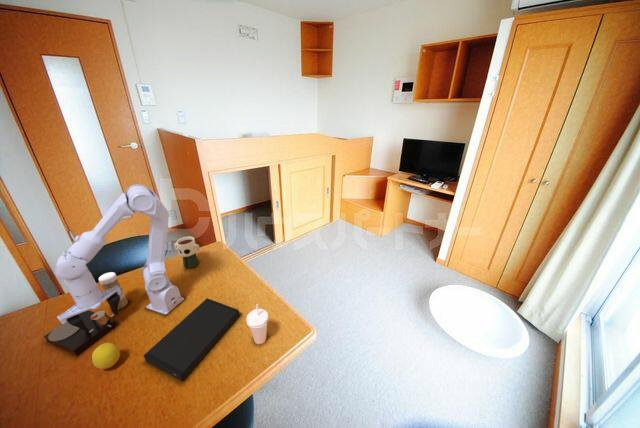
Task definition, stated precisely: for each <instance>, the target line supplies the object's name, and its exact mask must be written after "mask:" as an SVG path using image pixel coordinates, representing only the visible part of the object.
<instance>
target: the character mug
mask: <svg viewBox="0 0 640 428" xmlns="http://www.w3.org/2000/svg"><path fill="white" fill-rule="evenodd" d="M173 246H174V249H175V251H177V252H178V255H179V256H180V257H182V265H183V268H185V269H187V267H188V269H193V268H195V267H197V266H198V265H199V263H200V260H199V258H198V255H197V254H196V253H197V252H199V251H200V250H201V249H200V245H199V244H196V240H195V238H194V237H193V236H184V237H180V238H179V239H177V240H176V242H175V243H174V245H173Z"/></svg>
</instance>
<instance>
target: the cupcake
mask: <svg viewBox="0 0 640 428" xmlns="http://www.w3.org/2000/svg"><path fill="white" fill-rule="evenodd" d="M109 319H110V318H109V316H108V314H107V312H106V310H99V311H96V312H94V314H93V315H92V316H91V320H92V322H93V324H94V326H95V327H96V328H100V327H103V326H105V325H106V324H107V323H108V322H109Z"/></svg>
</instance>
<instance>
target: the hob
mask: <svg viewBox="0 0 640 428" xmlns="http://www.w3.org/2000/svg"><path fill="white" fill-rule="evenodd" d="M94 313H95V312H94V311H92V310H87V311H85V312H82V313H80V314H78V315H79V316H80V318H81V319H82V320H83V322H84V324H85V326H86V327H87V328H88V330H89V333H86V332H84V330H82V329H81V328H80V330H79V331H77V332H76V333H75V334H73V335H72V336H70V337H68V338H66V339H64V340H61V341H56V342H52V341H50V340H49V339H48V336H49V334H50V333H51V332H52V331H53V330H54V329H52V330H51V331H50V332H48V333H46V334H44V335H43V338H44V339H45V340H46V342H47V343H49V344H51V345H53V346H55V347H58V348H59V349H61V350H64V351H65V352H68V353H70V354H72V355H73V356H76V357H78V356H80V355H81V354H82V353H83V352H85V351H86V350H88V349H89V348H90V347H91V346H92V345H94V344H95V343H97V342H98V341H99V340H101V339H102V338H103V337H105V336H106V335H107V334H108V333H110V332H111V331H112V330H114V329H115V328H116V327H117V326H118V325H117V323H116V321H115V320H114V319H112V317H114V316H116V315H115V314H113V313H112V314H111V315H110V316H109V317H110V318H109V322H108V323H107V324H106V325H105V326H103V327H100V328H96V327H95V326H94V324H93V322H92V320H91V316H92V315H93V314H94Z"/></svg>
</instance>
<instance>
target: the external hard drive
mask: <svg viewBox="0 0 640 428" xmlns="http://www.w3.org/2000/svg"><path fill="white" fill-rule="evenodd" d="M238 318H240V310H239V309H237V308H235V307H233V306H229V305H226V304H224V303H221V302H218V301H216V300H213V299H210V298H206V299H204V300H203V301H202V302H201V303H199V305H198V306H196V307H195V308H194V309H193V310H192V311H191V312H189V314H187V316H185V317H184V318H183V319H182V320H181V321H180V322H179V323H177V324H176V325H175V326H174V327H173V328H172V329H171V330H170V331H168V332H167V334H165V335H164V336H163V337H162V338H161V339H160V340H159V341H158V342H157V343H156V344H154V345H153V346H152V347H151V348H150V349H149V350H148V351H147V352H145V353H144V354H143V358H144V360H145V362H146V363H148V364H150V365H151V366H153V367H155V368H157V369H158V370H161V371H162V372H165V373H166V374H167V375H170V376H171V377H174V378H175V379H177V380H179V381H181V382H184V381H185V380H186V379H187V378H188V377H189V375H190V374H191V373H192V372H193V371H194V370H195V368H196V367H197V366H198V365H199V364H200V363H201V361H202V360H203V359H204V358H205V357H206V356H207V354H208V353H209V352H210V351H211V350H212V349H213V347H214V346H215V345H216V344H217V343H218V342H219V341H220V340H221V338H223V336H224V335H225V334H226V333H227V331H228V330H230V328H231V327H232V325H233V324H234V323H235V322H236V321H237V320H238Z"/></svg>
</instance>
